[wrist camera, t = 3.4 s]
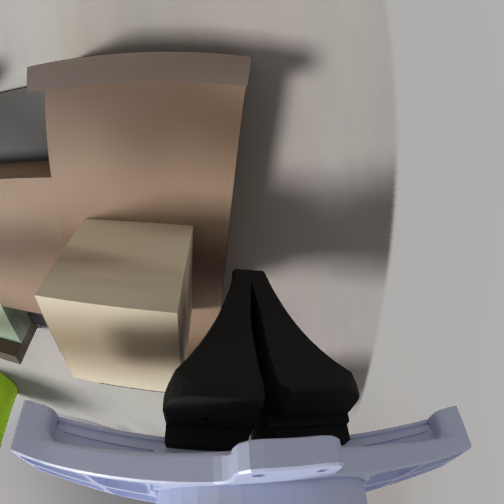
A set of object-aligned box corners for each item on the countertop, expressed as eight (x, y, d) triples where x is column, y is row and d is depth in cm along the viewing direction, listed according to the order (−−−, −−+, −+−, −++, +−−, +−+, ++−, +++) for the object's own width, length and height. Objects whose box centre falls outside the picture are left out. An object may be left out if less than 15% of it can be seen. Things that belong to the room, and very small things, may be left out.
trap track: (215, 352, 22) (214, 405, 18) (-25, 312, 19) (-45, 348, 16) (246, 57, 11) (253, 56, 8) (-85, 108, 8) (-128, 131, 5)
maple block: (191, 309, 16) (183, 393, 12) (101, 300, 15) (74, 377, 11) (193, 225, 13) (177, 313, 9) (85, 218, 12) (34, 295, 8)
